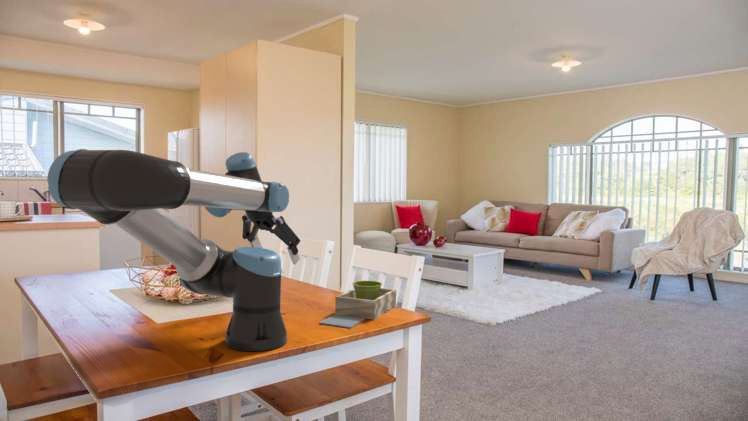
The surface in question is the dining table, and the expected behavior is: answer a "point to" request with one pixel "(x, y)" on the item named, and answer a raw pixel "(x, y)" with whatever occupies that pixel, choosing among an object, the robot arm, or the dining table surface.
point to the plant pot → (367, 289)
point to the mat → (342, 321)
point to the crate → (365, 304)
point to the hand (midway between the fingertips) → (278, 258)
